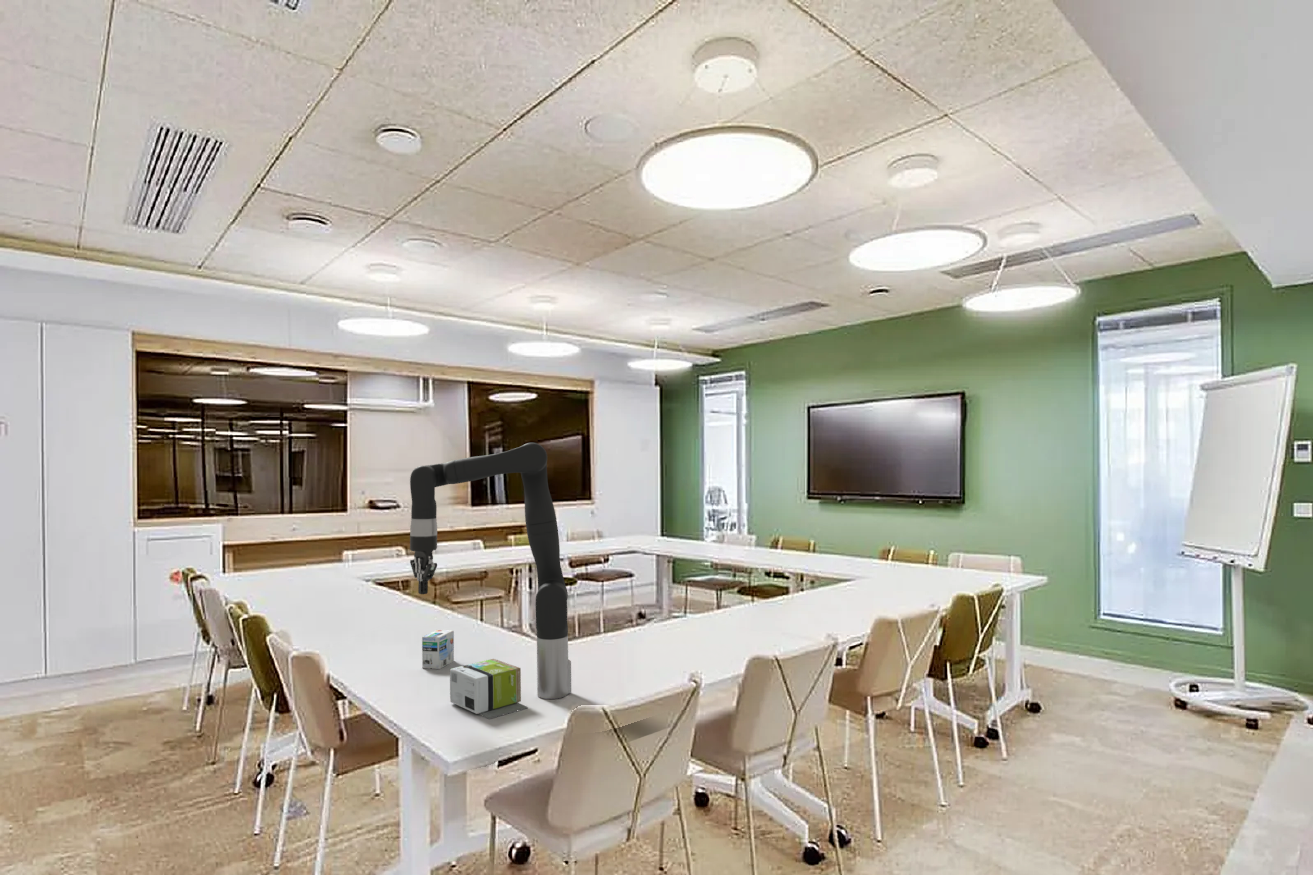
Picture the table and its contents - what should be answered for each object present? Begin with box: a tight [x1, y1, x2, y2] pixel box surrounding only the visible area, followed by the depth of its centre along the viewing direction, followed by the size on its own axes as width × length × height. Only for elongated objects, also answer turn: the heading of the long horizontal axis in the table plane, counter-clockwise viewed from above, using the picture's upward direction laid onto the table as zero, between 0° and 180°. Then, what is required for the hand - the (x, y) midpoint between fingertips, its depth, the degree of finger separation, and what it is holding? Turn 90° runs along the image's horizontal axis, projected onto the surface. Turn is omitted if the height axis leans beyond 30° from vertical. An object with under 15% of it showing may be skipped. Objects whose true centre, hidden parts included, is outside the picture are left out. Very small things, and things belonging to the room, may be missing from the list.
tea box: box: [449, 658, 522, 715], centre depth 208 cm, size 15×10×15 cm
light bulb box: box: [421, 629, 455, 670], centre depth 250 cm, size 11×7×11 cm, turn 168°
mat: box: [477, 702, 528, 720], centre depth 208 cm, size 12×22×1 cm, turn 42°
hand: (423, 593), depth 211 cm, fingers closed
